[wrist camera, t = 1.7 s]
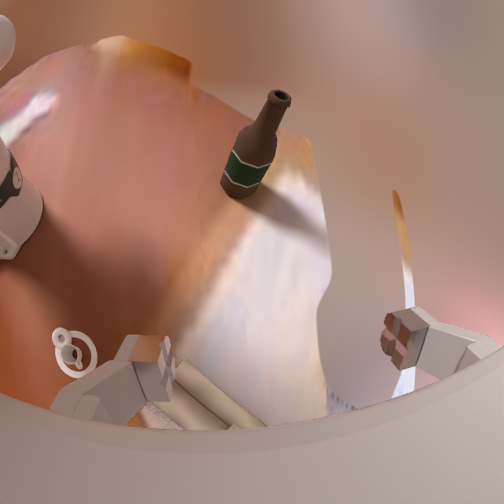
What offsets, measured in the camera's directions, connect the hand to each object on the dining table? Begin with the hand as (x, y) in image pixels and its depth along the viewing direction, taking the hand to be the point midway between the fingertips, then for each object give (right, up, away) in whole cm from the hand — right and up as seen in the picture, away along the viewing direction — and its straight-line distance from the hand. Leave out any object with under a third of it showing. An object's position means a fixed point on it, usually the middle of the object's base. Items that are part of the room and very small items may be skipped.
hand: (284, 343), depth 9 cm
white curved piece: (-29, -11, +27) cm, 41 cm away
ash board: (-8, -23, +29) cm, 38 cm away
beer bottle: (-4, +17, +46) cm, 50 cm away
